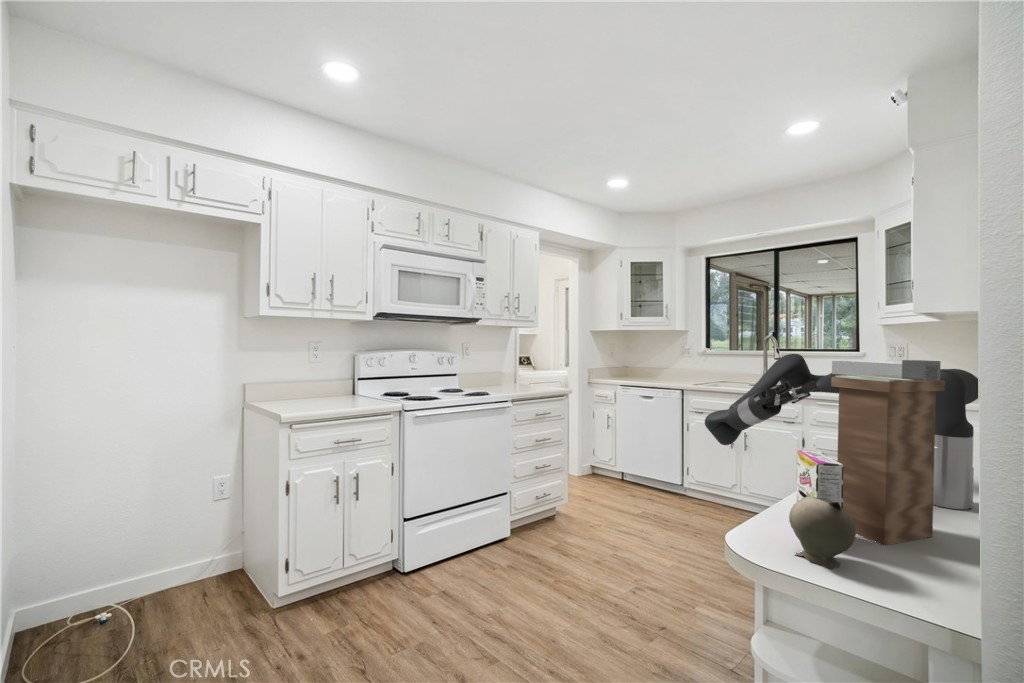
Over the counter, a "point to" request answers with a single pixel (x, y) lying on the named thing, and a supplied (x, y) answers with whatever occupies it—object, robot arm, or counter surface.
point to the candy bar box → (819, 476)
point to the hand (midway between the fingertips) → (802, 384)
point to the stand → (887, 455)
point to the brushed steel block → (891, 369)
